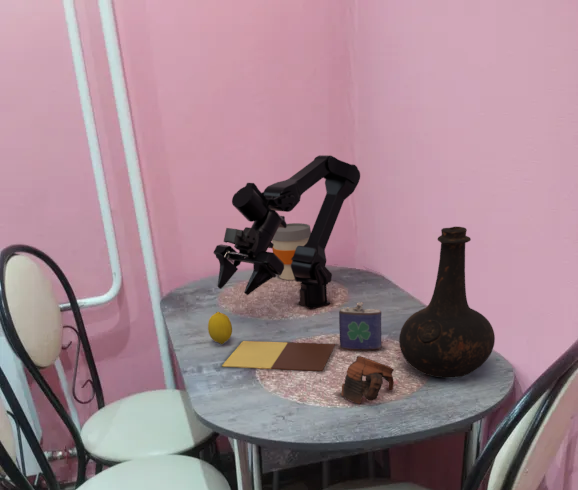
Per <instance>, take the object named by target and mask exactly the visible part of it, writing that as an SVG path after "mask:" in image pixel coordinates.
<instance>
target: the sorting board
mask: <svg viewBox="0 0 578 490" xmlns="http://www.w3.org/2000/svg"><path fill="white" fill-rule="evenodd" d="M335 347H336V344H335V343H315V342H312V343H311V342H284V341H258V340H257V341H255V340H254V341H253V340H252V341H251V340H242V341H241V343H240V344H239V345H237V347H236V348H235V350H234V351H233V352H232V353H231V355H230V356H228V358H227V359H226V360H225V361H224V362H223V364H222V365H221V367H222V368H239V369H241V368H242V369H260V370H261V369H262V370H283V371H284V370H285V371H286V370H287V371H304V372H305V371H306V372H307V371H308V372H323V371H324V369H325V367H326V365H327V363H328V362H329V359H330V356H331V354H332V352H333V350H334V348H335Z"/></svg>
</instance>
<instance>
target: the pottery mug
mask: <svg viewBox="0 0 578 490" xmlns="http://www.w3.org/2000/svg"><path fill="white" fill-rule="evenodd" d="M394 370H395V369H394V368H392V367H391V366H389V365H386V364H384V363H381V362H378V361H375V360H372V359H370V358H367V357H365V356H361V355H357V356H356V359H355V361H353V362H352V363H351V364H350V365H349V366H348V367H347V370H346V374H345V377H344V378H345V379H344V383H342V385H341V393H340V396H341V397H343V398H345V399H346V400H348V401H349V402H352V403H354V404H357V405H361V404H362V399H363V398H364V399H365V400H367V401H368V402H371V401H375V400H377V399H378V396H379V393H380V390H381V388H382V385H383V384H384V382H383V381H384V380H385V381H386V382H387V383H388V391H393V390H394V385H395V384H394V383H395V381H394V376H393V372H394ZM363 377H365V380H363ZM383 379H384V380H383Z"/></svg>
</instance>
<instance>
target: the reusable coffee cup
mask: <svg viewBox="0 0 578 490" xmlns="http://www.w3.org/2000/svg"><path fill="white" fill-rule="evenodd" d="M286 225H287V227H286V228H281V227H279V228H278V230H277V231H276V233H275V235H274V237H273V239H272V241H271V242H272V243H273V244H274V246H273V248H271V250H272V253H274V254H275V255H276V256H277V257H278V258H279V259H280V260H281V261H282V262H283V263H284V270H283V272H282V274H281V276H280V275H278V277H279V279H281V280H286V281H287V280H288V281H293V280H294V281H296V280H295V278H294V275H293V272H292V269H291V263H292V261H293V260H291V259H292V257H293V256H294V253H295V250H296V248H297V246H304V245H305V244H306V243H307V242H308V239H309V237H310V234H311V232H312V229H311V225H310V224H308V223H302V222H301V223H300V222H296V223H295V222H293V223H292V222H291V223H286Z"/></svg>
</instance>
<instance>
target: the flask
mask: <svg viewBox="0 0 578 490" xmlns="http://www.w3.org/2000/svg"><path fill="white" fill-rule="evenodd" d="M364 303H365V302H362V301H359V302H356V306H355V307H352V306H351V307H349V306H346V307H344V308H340V309H339V311H338V321H339V322H338V324H339V327H338V328H339V348H340V350H343V351H350V352H376V351H381V349H382V311H381V309H379V308H373V309H372V308H366V309H365V308H364V307H363V306H364Z"/></svg>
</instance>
